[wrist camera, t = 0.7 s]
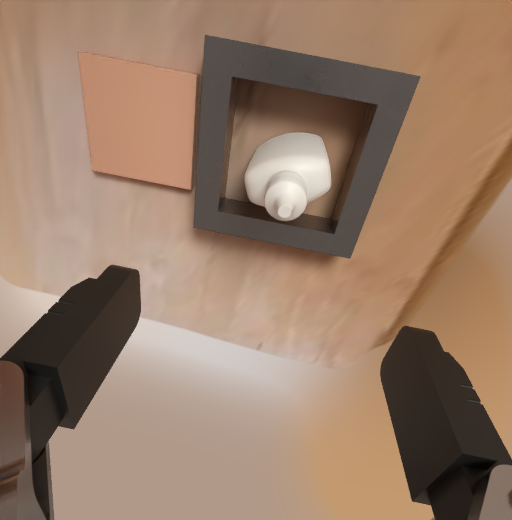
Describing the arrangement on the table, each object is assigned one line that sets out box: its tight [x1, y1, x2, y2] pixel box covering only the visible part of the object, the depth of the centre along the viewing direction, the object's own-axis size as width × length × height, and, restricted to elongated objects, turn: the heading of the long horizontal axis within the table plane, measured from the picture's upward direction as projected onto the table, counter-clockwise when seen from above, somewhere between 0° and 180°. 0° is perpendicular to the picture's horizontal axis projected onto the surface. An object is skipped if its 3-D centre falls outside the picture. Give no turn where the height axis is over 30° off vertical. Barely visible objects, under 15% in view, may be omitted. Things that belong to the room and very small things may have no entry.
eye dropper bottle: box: [244, 132, 331, 221], centre depth 22 cm, size 4×6×12 cm
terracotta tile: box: [78, 52, 199, 190], centre depth 26 cm, size 9×9×1 cm
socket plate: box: [193, 35, 421, 258], centre depth 25 cm, size 14×14×3 cm
